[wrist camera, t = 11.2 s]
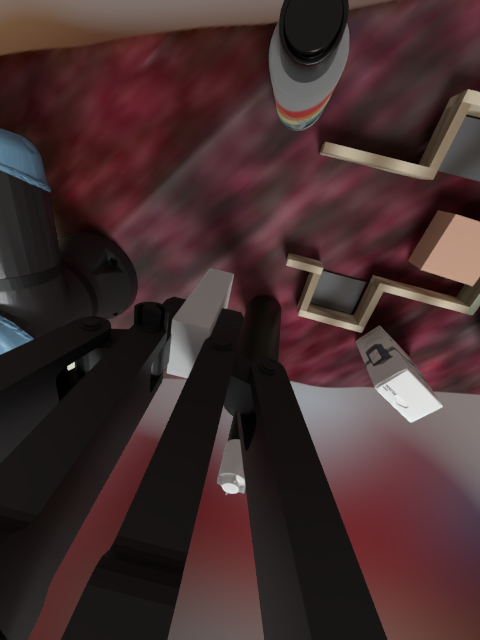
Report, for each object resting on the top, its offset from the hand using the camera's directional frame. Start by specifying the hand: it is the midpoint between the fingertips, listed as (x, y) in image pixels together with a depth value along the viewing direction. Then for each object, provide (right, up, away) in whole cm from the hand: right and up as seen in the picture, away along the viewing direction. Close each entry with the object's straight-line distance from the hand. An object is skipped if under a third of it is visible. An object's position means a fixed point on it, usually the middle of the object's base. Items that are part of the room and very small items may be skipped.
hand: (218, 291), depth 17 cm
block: (+30, +9, +21) cm, 37 cm away
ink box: (+25, -7, +29) cm, 39 cm away
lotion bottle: (+9, +24, +16) cm, 30 cm away
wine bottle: (+5, 0, +30) cm, 30 cm away
